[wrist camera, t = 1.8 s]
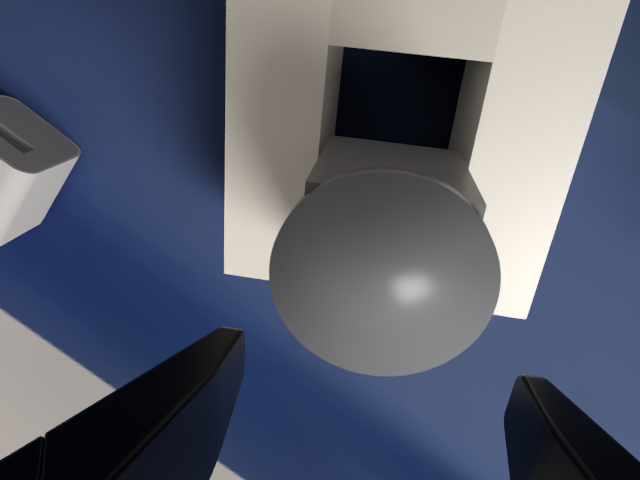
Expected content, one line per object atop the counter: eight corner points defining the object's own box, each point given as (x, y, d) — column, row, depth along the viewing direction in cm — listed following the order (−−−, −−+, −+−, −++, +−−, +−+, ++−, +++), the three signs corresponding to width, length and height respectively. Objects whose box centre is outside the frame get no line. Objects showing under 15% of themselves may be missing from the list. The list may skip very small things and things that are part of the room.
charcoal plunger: (483, 133, 15) (529, 191, 10) (448, 282, 17) (470, 392, 12) (314, 113, 15) (274, 158, 10) (301, 260, 17) (264, 357, 12)
